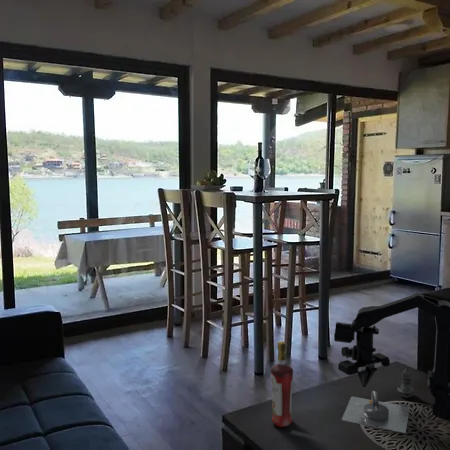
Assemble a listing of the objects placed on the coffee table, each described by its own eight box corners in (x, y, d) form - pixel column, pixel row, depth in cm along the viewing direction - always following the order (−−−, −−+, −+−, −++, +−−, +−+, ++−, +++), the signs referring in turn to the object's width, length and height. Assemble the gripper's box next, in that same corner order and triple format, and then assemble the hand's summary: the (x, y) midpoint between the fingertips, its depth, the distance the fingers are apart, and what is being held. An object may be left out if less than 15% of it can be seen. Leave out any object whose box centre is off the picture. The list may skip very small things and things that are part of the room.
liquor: (267, 420, 161) (266, 340, 158) (286, 416, 164) (286, 337, 161) (277, 431, 155) (276, 348, 151) (297, 426, 157) (297, 344, 154)
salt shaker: (414, 404, 171) (415, 371, 170) (397, 401, 173) (398, 369, 172) (413, 396, 177) (414, 365, 175) (396, 394, 178) (397, 363, 177)
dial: (389, 422, 157) (389, 411, 157) (364, 419, 159) (364, 408, 158) (385, 401, 171) (385, 391, 170) (362, 399, 172) (362, 389, 172)
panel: (409, 410, 167) (409, 406, 167) (405, 436, 151) (405, 432, 150) (351, 399, 175) (351, 395, 175) (341, 423, 159) (341, 419, 159)
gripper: (369, 333, 179) (368, 373, 181) (328, 341, 171) (328, 383, 173) (391, 342, 169) (390, 384, 170) (349, 351, 161) (348, 396, 163)
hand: (363, 386), depth 169 cm, fingers closed
